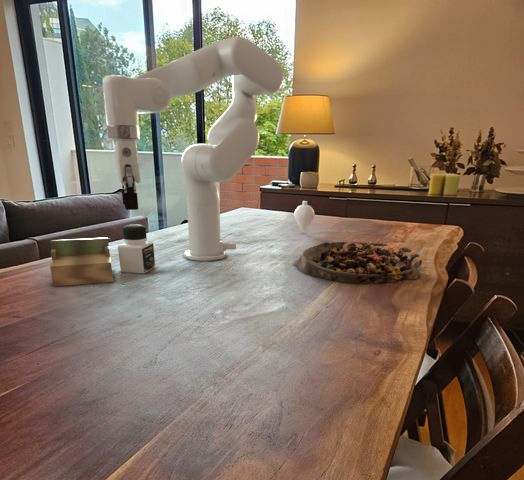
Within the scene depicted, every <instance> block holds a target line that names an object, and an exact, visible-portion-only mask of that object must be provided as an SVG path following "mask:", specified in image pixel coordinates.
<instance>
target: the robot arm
mask: <svg viewBox="0 0 524 480" xmlns="http://www.w3.org/2000/svg"><path fill="white" fill-rule="evenodd" d="M228 77H231V85H232V101H231V103H230V105H229V106H228V108H227V109H226V110H225V111H224V112H223V114H222V115H220V117H219V118H218V119H217V120H216V121H214V123H213V124H212V126H211V127H210V128H209V130H208V133H207V143H195V144H192V145H189V146H188V147H186V149H185V150H184V152H183V153H182V155H181V170H182V174H183V177H184V178H183V179H184V183H185V184H184V185H185V191H186V192H185V193H186V204H187V205H186V208H187V225H188V226H187V227H188V229H187V230H188V245H189V246H188V247H189V249H188V250H186V251H185V252H184V258H185V259H188V260H192V261H198V262H209V261H219V260H222V259H225V257H226V256H227V252H226V251H227V250H229V251H230V250H231V251H232V250H236V249H237V243H235V242H223V240H221V211H220V210H221V206H220V203H221V200H220V192H219V188H218V185H217V183H228V182H229V181H230V180H232V179H233V178H234V177H235V176H236V175H237V174H238V172H240V171H241V170H242V168H243V167H244V166H245V165H246V164H247V162H248V161H249V160H250V159H251V157H252V156H253V155H254V154H255V152H256V151H257V149H258V146H259V142H260V131H259V128H258V126H257V125H256V122H257V119H258V106H257V98H256V97H257V96H269V95H274V94H276V93H278V91H280V89H281V88H282V86H283V83H284V71H283V68H282V66H281V64H280V62H278V60H277V59H276V58H275V57H273V56H272V55H270V54H269V53H268V52H266V50H263V49H262V48H261V47H259V46H258V45H257V44H256V43H254V42H252V41H251V40H249V39H248V38H246V37H242V36H235V37H234V36H233V37H229V38H223V39H219V40H216V41H213V42H211V43H209V44H207V45H205V46H202V47H201V48H198V49H196V50H194V51H192V52H190V53H188V54H186V55H184V56H183V55H182V57H179V58H176V59H174V60H172V61H170V62H168V63H165V64H163V65H161V66H158V67H156V68H153V69H151V70H149V71H147V72H144V73H142V74H139V75H138V76H136V77H130V76H126V75H119V74H110V75H109V74H108V75H106V76H104V77H103V79H102V91H103V102H104V110H105V111H104V112H105V120H106V121H105V122H106V130H107V139H108V141H111V142H113V147H114V148H113V149H114V155H115V156H114V157H115V158H114V159H115V165H116V170H117V175H118V180H119V182H120V184H121V196H122V197H121V198H122V205H124V209H125V211H137V210H139V199H138V192H137V188H136V187H137V185H139V184H141V173H140V162H139V152H138V147H137V142H141V136H140V123H139V114H157V113H161V112H163V111H165V110H166V109H168V107H169V106H170V104H171V101H172V100H171V99H173V98H179V97H184V96H188V95H193V94H195V93H198V92H201V91H202V90H204V89H206V88H208V87H210V86H211V85H214V84H215V83H218V82H219V81H222V80H224V79H226V78H228ZM136 184H137V185H136Z"/></svg>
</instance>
